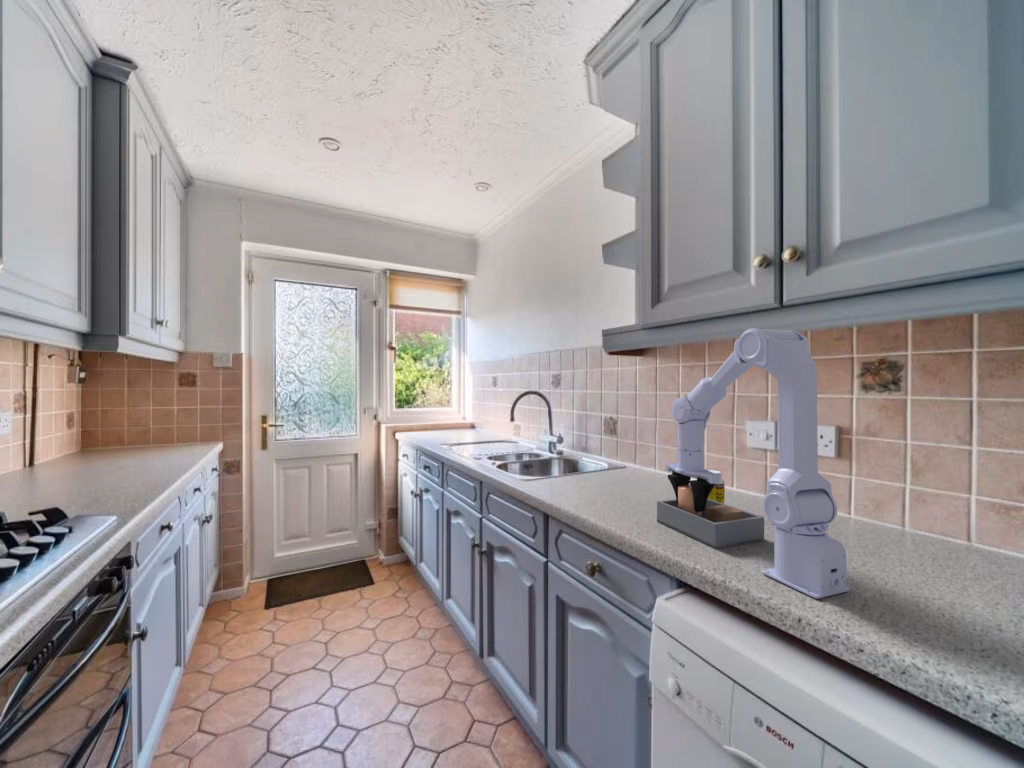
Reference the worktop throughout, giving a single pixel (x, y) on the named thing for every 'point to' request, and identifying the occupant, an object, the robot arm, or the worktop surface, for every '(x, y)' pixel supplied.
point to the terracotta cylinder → (686, 499)
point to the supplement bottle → (718, 489)
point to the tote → (711, 525)
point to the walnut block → (722, 513)
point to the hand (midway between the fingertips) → (690, 507)
